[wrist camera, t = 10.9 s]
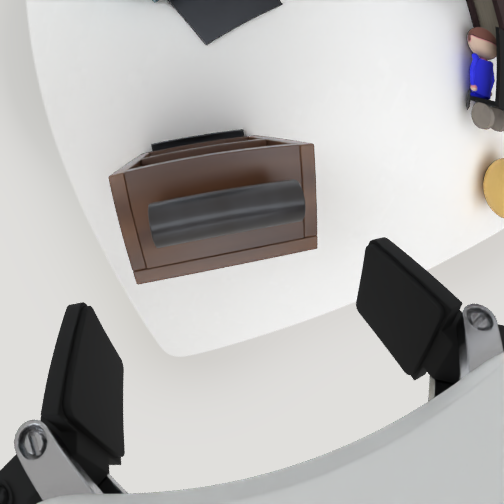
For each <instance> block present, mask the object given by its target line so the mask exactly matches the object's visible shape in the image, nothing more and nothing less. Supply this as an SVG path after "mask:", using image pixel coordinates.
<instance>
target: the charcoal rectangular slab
mask: <svg viewBox="0 0 504 504" xmlns="http://www.w3.org/2000/svg"><path fill="white" fill-rule="evenodd" d="M243 136H244V132H243V129H242V130H233V131H225V132H218V133H211V134H204V135H198V136H192V137H186V138H180V139H175V140H170V141H164V142H159V143H155V144H152V151H157V150H162V149H167V148H172V147H177V146H183V145H188V144H194V143H200V142H207V141H213V140H220V139H227V138H235V137H243Z"/></svg>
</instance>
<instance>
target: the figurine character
mask: <svg viewBox="0 0 504 504" xmlns="http://www.w3.org/2000/svg"><path fill="white" fill-rule="evenodd" d="M495 29H496V38H495V37H494V35H493V34H492V33H491V32H490V31H488V30H487V29H484V28H482V27H475V28H472V29H471V30H470V31H469V32H468V35H467V41H468V45H469V47H470V49H471V50H472V51H473V52H474V53H473V54H472V58H473V60H472V63H471V66H470V69H469V70H470V85H471V86H470V88H471V90H470V89H469V90H468V97H467V105H466V106H467V110H468V108H469V107H470V100H473V101H476V103H475V104H474V106H473V108H472V112H471V115H472V120H473V122H474V124H475V125H476V126H477V127H478V128H481V129H489V128H492V129H493V130H495V131H499V132H502V131H504V31H503V30H502V29H501V28H499V27H495ZM496 56H497V82H496V99H495V101H491V100H489V99H490V97H491V96H492V93H491V90H492V87H493V84H494V81H495V80H494V72H493V63H492V62H491V61H487V60H490V59H493V58H495V57H496ZM479 57H480V58H479ZM471 91H473V92H471ZM490 106H491V107H490Z"/></svg>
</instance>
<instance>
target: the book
mask: <svg viewBox="0 0 504 504" xmlns="http://www.w3.org/2000/svg"><path fill="white" fill-rule="evenodd" d="M466 1H467V5H468V8H469V11H470V15H471V19H472V23H473V27H474V28H475V27H482V28H484V29H487V30H488V31H490V32H491V33H492V34H493V35H494V37H495V38H496V29H495V27H499V28H501V29H502V30H503V31H504V0H466Z"/></svg>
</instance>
